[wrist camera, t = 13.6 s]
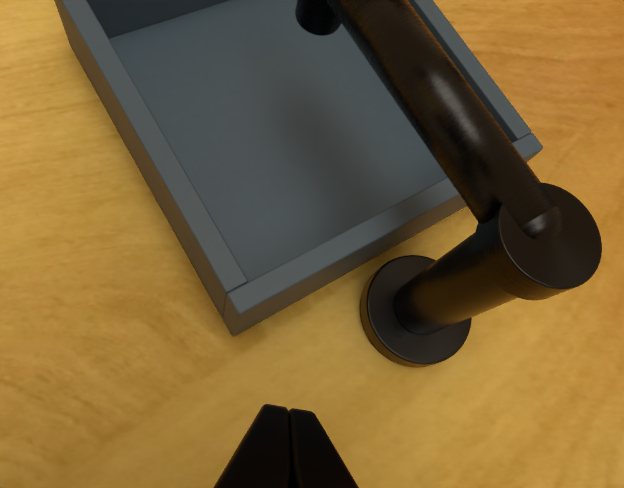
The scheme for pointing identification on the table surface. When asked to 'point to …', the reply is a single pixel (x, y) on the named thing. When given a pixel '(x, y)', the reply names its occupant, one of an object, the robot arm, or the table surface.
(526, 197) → the spout
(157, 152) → the sink
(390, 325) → the tap column
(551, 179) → the table surface
